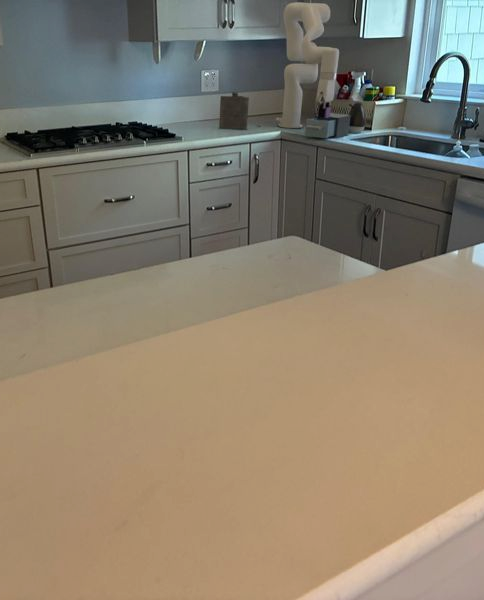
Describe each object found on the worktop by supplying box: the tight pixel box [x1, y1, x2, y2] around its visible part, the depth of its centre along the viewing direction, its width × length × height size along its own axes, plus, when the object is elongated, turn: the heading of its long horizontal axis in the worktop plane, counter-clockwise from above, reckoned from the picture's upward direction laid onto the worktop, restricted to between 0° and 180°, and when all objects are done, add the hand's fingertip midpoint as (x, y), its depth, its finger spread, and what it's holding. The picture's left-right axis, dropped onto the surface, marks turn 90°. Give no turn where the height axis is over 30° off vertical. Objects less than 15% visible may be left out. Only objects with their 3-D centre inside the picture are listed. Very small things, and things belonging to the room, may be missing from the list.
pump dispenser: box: [347, 101, 367, 134], centre depth 314 cm, size 10×10×15 cm
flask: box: [218, 91, 250, 131], centre depth 313 cm, size 4×14×18 cm, turn 81°
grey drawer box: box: [313, 112, 351, 139], centre depth 304 cm, size 15×13×10 cm
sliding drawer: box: [304, 117, 337, 139], centre depth 294 cm, size 18×11×8 cm, turn 144°
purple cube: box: [316, 107, 332, 118], centre depth 293 cm, size 4×4×4 cm
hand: (323, 116), depth 294 cm, fingers closed on purple cube, 4 cm apart
